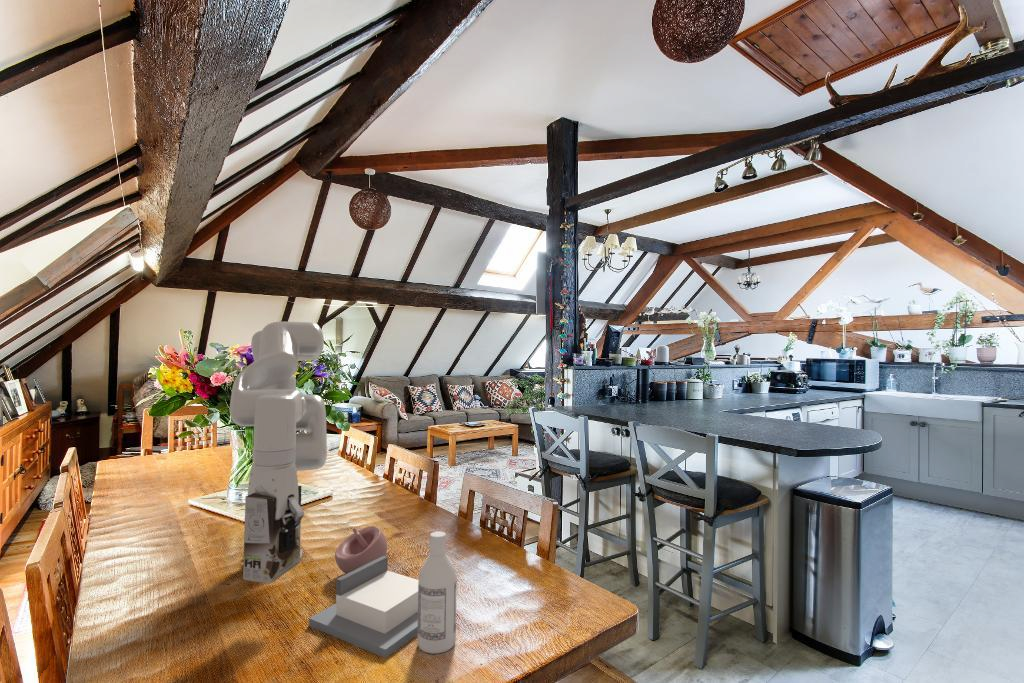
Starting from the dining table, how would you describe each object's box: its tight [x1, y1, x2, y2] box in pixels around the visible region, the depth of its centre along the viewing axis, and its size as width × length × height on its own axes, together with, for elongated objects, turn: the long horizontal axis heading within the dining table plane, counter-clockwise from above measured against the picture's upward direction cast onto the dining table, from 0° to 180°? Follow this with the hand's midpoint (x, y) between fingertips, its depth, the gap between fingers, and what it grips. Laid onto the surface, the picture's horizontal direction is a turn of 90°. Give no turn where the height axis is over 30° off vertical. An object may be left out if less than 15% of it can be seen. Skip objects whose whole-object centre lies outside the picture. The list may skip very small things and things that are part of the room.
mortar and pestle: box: [334, 525, 388, 575], centre depth 119 cm, size 12×12×11 cm
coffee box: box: [242, 485, 302, 584], centre depth 98 cm, size 9×6×16 cm
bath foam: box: [417, 531, 458, 655], centre depth 92 cm, size 7×7×20 cm
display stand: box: [308, 555, 419, 659], centre depth 101 cm, size 20×20×8 cm
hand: (273, 545), depth 99 cm, fingers closed on coffee box, 7 cm apart
